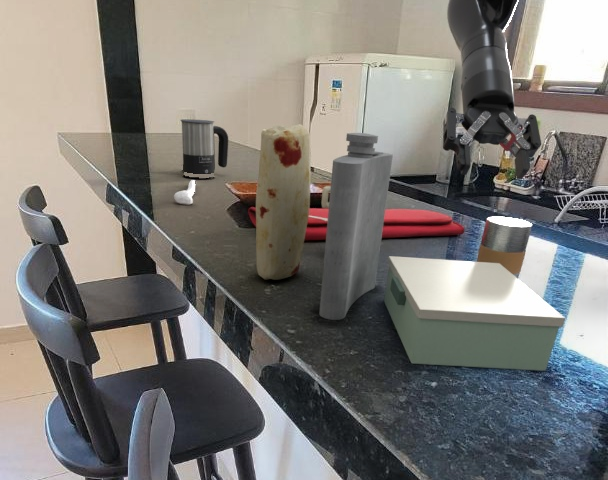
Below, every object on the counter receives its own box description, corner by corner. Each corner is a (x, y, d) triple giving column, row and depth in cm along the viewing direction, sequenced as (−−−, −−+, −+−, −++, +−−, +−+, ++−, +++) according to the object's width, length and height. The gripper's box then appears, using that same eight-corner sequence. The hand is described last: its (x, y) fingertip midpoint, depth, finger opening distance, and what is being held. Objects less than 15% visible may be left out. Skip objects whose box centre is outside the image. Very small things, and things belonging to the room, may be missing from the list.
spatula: (181, 183, 139) (181, 172, 138) (197, 184, 140) (197, 173, 138) (173, 204, 114) (172, 191, 113) (192, 205, 115) (192, 192, 114)
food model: (286, 289, 71) (296, 126, 62) (242, 280, 73) (245, 121, 64) (312, 270, 79) (324, 125, 70) (271, 263, 81) (278, 120, 72)
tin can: (505, 285, 80) (522, 218, 75) (520, 299, 74) (540, 228, 70) (465, 282, 79) (480, 215, 75) (478, 297, 74) (494, 225, 69)
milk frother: (199, 180, 145) (198, 121, 138) (158, 173, 152) (155, 116, 146) (232, 176, 156) (233, 121, 149) (193, 169, 163) (192, 116, 156)
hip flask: (340, 321, 62) (360, 138, 53) (308, 314, 63) (322, 134, 54) (377, 285, 75) (398, 132, 66) (350, 279, 77) (367, 129, 68)
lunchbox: (493, 307, 71) (504, 263, 68) (554, 372, 54) (571, 318, 51) (377, 300, 70) (383, 255, 67) (403, 364, 53) (413, 308, 51)
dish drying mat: (465, 237, 107) (469, 218, 105) (274, 244, 91) (275, 222, 89) (420, 219, 120) (423, 202, 118) (246, 223, 104) (247, 203, 102)
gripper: (449, 63, 80) (455, 152, 75) (542, 71, 80) (553, 160, 75) (434, 102, 87) (439, 185, 82) (519, 109, 87) (529, 192, 82)
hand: (494, 173), depth 79 cm, fingers open, 8 cm apart
